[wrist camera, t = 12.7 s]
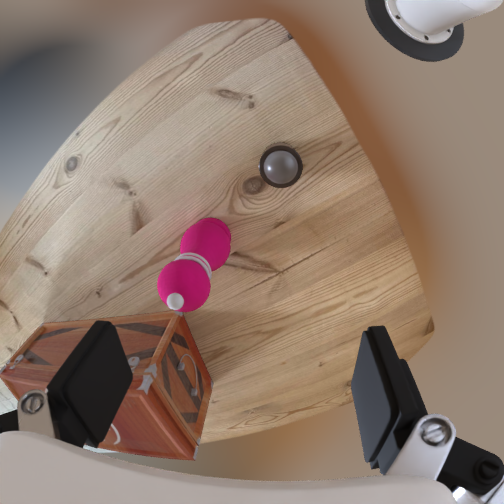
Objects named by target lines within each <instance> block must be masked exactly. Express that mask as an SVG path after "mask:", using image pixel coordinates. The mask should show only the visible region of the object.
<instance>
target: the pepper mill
mask: <svg viewBox="0 0 504 504" xmlns="http://www.w3.org/2000/svg"><path fill="white" fill-rule="evenodd" d="M230 241H231V234H230V231H229V229H228V227H227V226H226V224H225V223H223V222H222V221H221V220H219V219H216V218H205V219H202V220H200V221H199V222H197V223H196V224H194V225H192V226H191V227H190V228H188V229H187V231H186V232H185V234H184V235H183V237H182V240H181V245H180V252H181V255H179V256H178V257H177V258H176V259H175V260H174V261H172V262H170V263H169V264H167V265H166V266H165V267H164V268H163V269H162V271H161V273H160V275H159V278H158V282H157V288H158V293H159V295H160V298H161V299H162V301H163V302H164V303H165V304H166V305H167V306H168V307H169V308H171V309H173V310H175V311H179V312H190V311H194V310H196V309H198V308H200V307H201V306H202V305H203V304H204V303H205V301H206V300H207V298H208V296H209V293H210V287H211V285H210V280H211V276H212V271H215V270H217V269H218V268H220V267H221V266H222V265H223V264H224V263H225V261H226V260H227V258H228V256H229V254H230Z"/></svg>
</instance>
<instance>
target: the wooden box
mask: <svg viewBox="0 0 504 504" xmlns="http://www.w3.org/2000/svg"><path fill="white" fill-rule="evenodd" d="M97 320H103V321H110V322H111V323H112V324H113V325H114V326H115V327H116V329H117V332H118V335H119V338H120V341H121V344H122V347H123V349H124V352H125V355H126V357H127V360H128V363H129V365H130V368H131V370H132V373H133V380H132V383H131V385H130V387H129V389H128V391H127V393H126V395H125V397H124V399H123V401H122V403H121V405H120V407H119V409H118V411H117V413H116V416H115V418H114V420H113V422H112V424H111V426H110V428H109V430H108V432H107V435H106V437H105V439H104V441H103V442H101V443H99V445H98V448H102V449H107V450H112V451H117V452H123V453H129V454H135V455H136V454H137V455H143V456H150V457H158V458H168V459H180V460H194V461H195V460H196V455H197V451H198V447H197V446H199V443H200V439H201V434H202V430H203V425H204V421H205V417H206V413H207V408H208V404H209V400H210V396H211V392H212V387H213V382H212V379H211V377H210V375H209V373H208V371H207V369H206V366H205V364H204V362H203V360H202V357H201V355H200V353H199V351H198V348H197V346H196V344H195V341H194V339H193V337H192V334H191V332H190V330H189V327H188V325H187V322H186V320H185V318H184V315H183V313H182V312H179V311H175V310H172V311H164V312H156V313H147V314H138V315H129V316H120V317H110V318H100V319H89V320H77V321H65V322H52V323H42V324H41V325H40V326H39V327H38V328H37V329H36V331H35V332H34V333H33V334H32V335H31V336H30V337H29V338H28V339H27V340H26V341H25V343H24V344H23V345H22V346H21V347H20V348H19V349H18V350H17V352H16V353H15V354H14V355H13V356H12V357H11V358H10V359H9V361H8V362H7V363H6V366H4V367H3V368H2V369H1V370H0V378H1V379H2V380H3V382H4V383H5V385H6V386H7V387H8V388H9V390H10V391H11V392H12V394H13V395H14V396H15V398H16V399H17V400H18V401H19V399H20V398H21V396H22V395H23V394H25V393H26V392H28V391H30V390H34V389H38V390H42V391H44V392H45V393H47V392H48V390H47V388H46V387H47V385H48V384H49V382H50V381H51V380H52V378H53V377H54V375H55V374H56V373H57V371H58V370H59V368H60V367H61V366H62V364H63V363H64V362H65V360H66V359H67V358H68V356H69V355H70V354H71V352H72V351H73V350H74V348H75V347H76V346H77V344H78V343H79V342H80V340H81V339H82V338H83V337H84V335H85V334H86V333H87V331H88V330H89V329H90V328H91V326H92V325H93V324H94V323H95V321H97ZM84 445H86V444H84Z"/></svg>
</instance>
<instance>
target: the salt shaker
mask: <svg viewBox="0 0 504 504" xmlns="http://www.w3.org/2000/svg"><path fill="white" fill-rule="evenodd" d="M302 170H303V164H302V160H301V158H300V156H299V154H298V153H297V152H296V151H295V149H294V148H293V147H292V146H290V145H289V144H286V143H283V142H277V143H273V144H271V145H269V146H268V147H267V148H266V149H265V151H264V152H263V154H262V156H261V159H260V162H259V171H260V174H261V176H262V178H263V179H264V181H265V182H266V183H268V184H269V185H271V186H273V187H277V188H285V187H289V186H291V185H293V184H294V183H296V182H297V181H298V179H299V178H300V176H301V174H302Z"/></svg>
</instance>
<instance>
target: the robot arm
mask: <svg viewBox="0 0 504 504" xmlns="http://www.w3.org/2000/svg"><path fill="white" fill-rule="evenodd" d="M502 2H503V0H385V6H386V9H387V11H388V14H389V15H390V17H391V19H392V20H393V22H394V23H395V24H396V25H397V26H398V27H399V28H400V30H402V31H403V32H404V33H405V34H406V35H408V36H409V37H411V38H413V39H415V40H417V41H419V42H422V43H425V44H438V43H441V42H444V41H445V40H447V39H448V38H449V37H450V36H451V34H452V31H453V27H454V26H456V25H458V24H460V23H463V22H465V21H467V20H470V19H472V18H474V17H477V16H479V15H482V14H484V13H487V12H489V11H492V10H495V9H496V8H498V7H499V6H500V5H501V4H502ZM396 18H397V19H396ZM132 380H133V373H132V370H131V368H130V365H129V363H128V360H127V357H126V355H125V352H124V349H123V347H122V344H121V341H120V338H119V335H118V332H117V329H116V327H115V326H114V325H113V324H112V323H111V322H110V321H103V320H97V321H95V323H94V324H93V325H92V326H91V328H90V329H89V330H88V331H87V333H86V334H85V335H84V337H83V338H82V339H81V340H80V342H79V343H78V344H77V346H76V347H75V348H74V350H73V351H72V352H71V354H70V355H69V356H68V358H67V359H66V360H65V362H64V363H63V364H62V366H61V367H60V368H59V370H58V371H57V373H56V374H55V375H54V377H53V378H52V380H51V381H50V382H49V384H48V385H47V387H46V388H47V390H48V392H47V393H45V392H44V391H42V390H38V389H34V390H30V391H28V392H26V393H25V394H23V395H22V396H21V398H20V399H19V401H18V406H17V409H16V410H14V411H11V412H8V413H5V414H2V415H0V504H504V465H503V462H502V460H501V459H500V458H499V457H498V456H496V455H495V454H493V453H490V452H488V451H486V450H484V449H481V448H479V447H477V446H475V445H472V444H470V443H468V442H466V441H464V440H462V439H459V438H457V437H455V435H456V431H455V426H454V425H453V423H452V422H451V421H450V420H449V419H448V418H446V417H445V416H443V415H439V414H429V415H428V413H427V410H426V408H425V405H424V403H423V400H422V398H421V395H420V393H419V390H418V388H417V385H416V383H415V380H414V378H413V376H412V373H411V371H410V368H409V366H408V364H407V362H406V360H404V359H399V358H398V355H397V353H396V351H395V348H394V346H393V344H392V341H391V339H390V337H389V335H388V332H387V330H386V328H385V326H371V327H368V330H367V331H363V333H362V338H361V343H360V348H359V352H358V357H357V361H356V365H355V370H354V374H353V378H352V382H351V389H352V395H353V399H354V404H355V409H356V414H357V419H358V424H359V430H360V434H361V440H362V446H363V452H364V458H365V461H366V462H370V465H371V469H376V468H380V473H381V474H383V475H382V476H367V477H356V478H345V479H332V480H316V481H315V480H313V481H254V480H236V479H225V478H215V477H207V476H199V475H192V474H185V473H179V472H173V471H168V470H162V469H157V468H153V467H148V466H144V465H139V464H135V463H131V462H127V461H123V460H120V459H116V458H112V457H109V456H106V455H102V454H99V453H96V452H93V451H90V450H87V449H83V446H84V444H86V445H88V446H91V447H94V448H98V445H99V443H101V442H103V441H104V439H105V437H106V435H107V432H108V430H109V428H110V426H111V424H112V422H113V420H114V418H115V416H116V413H117V411H118V409H119V407H120V405H121V403H122V401H123V399H124V397H125V395H126V393H127V391H128V389H129V387H130V385H131V383H132Z"/></svg>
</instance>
